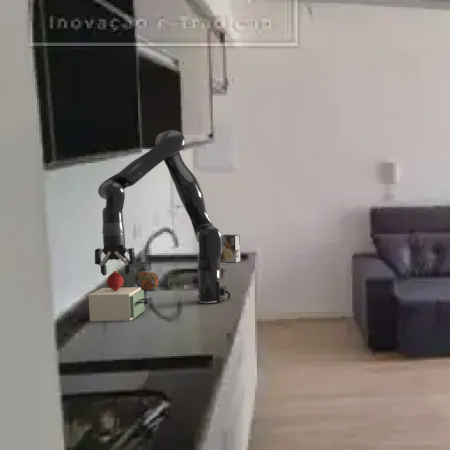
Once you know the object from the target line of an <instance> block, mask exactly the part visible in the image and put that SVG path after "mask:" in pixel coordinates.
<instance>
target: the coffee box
mask: <svg viewBox="0 0 450 450" xmlns="http://www.w3.org/2000/svg"><path fill="white" fill-rule="evenodd" d="M240 237H241V235H240V234H226V233H225V234H221V260H222V261H221V263H239V262H241V239H240Z"/></svg>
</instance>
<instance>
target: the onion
mask: <svg viewBox="0 0 450 450" xmlns="http://www.w3.org/2000/svg"><path fill="white" fill-rule="evenodd" d="M124 282H125V279H124V277H123V276H122V275H121V274H120V273H119V272H118V271H117V270H114V271H112V273H110V274H109V275H108V277H107V279H106V285H107V287H108V288H111V289H112V290H114V291H117V290H118V289H119V288H122V286H123V285H124Z"/></svg>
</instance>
